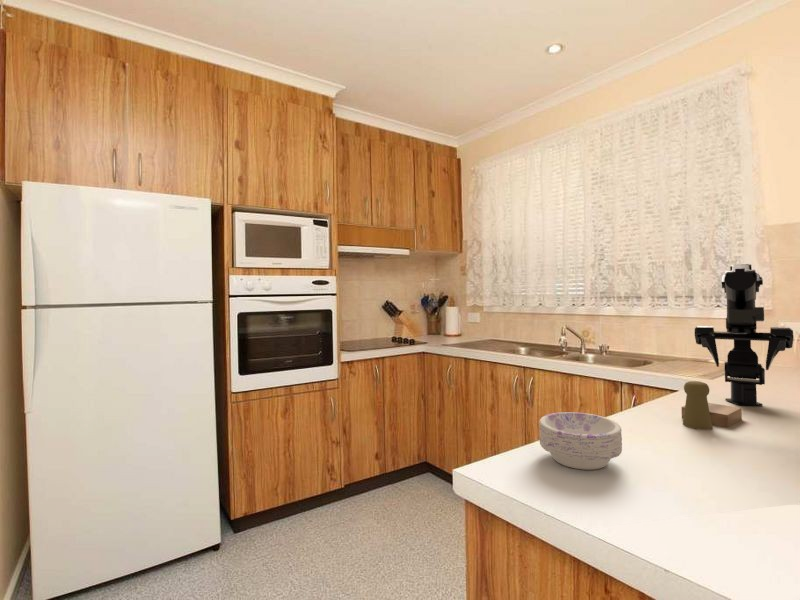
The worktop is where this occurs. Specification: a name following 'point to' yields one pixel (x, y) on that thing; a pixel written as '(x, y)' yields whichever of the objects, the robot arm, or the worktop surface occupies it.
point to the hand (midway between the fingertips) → (741, 367)
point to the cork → (697, 406)
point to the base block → (722, 414)
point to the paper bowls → (580, 439)
